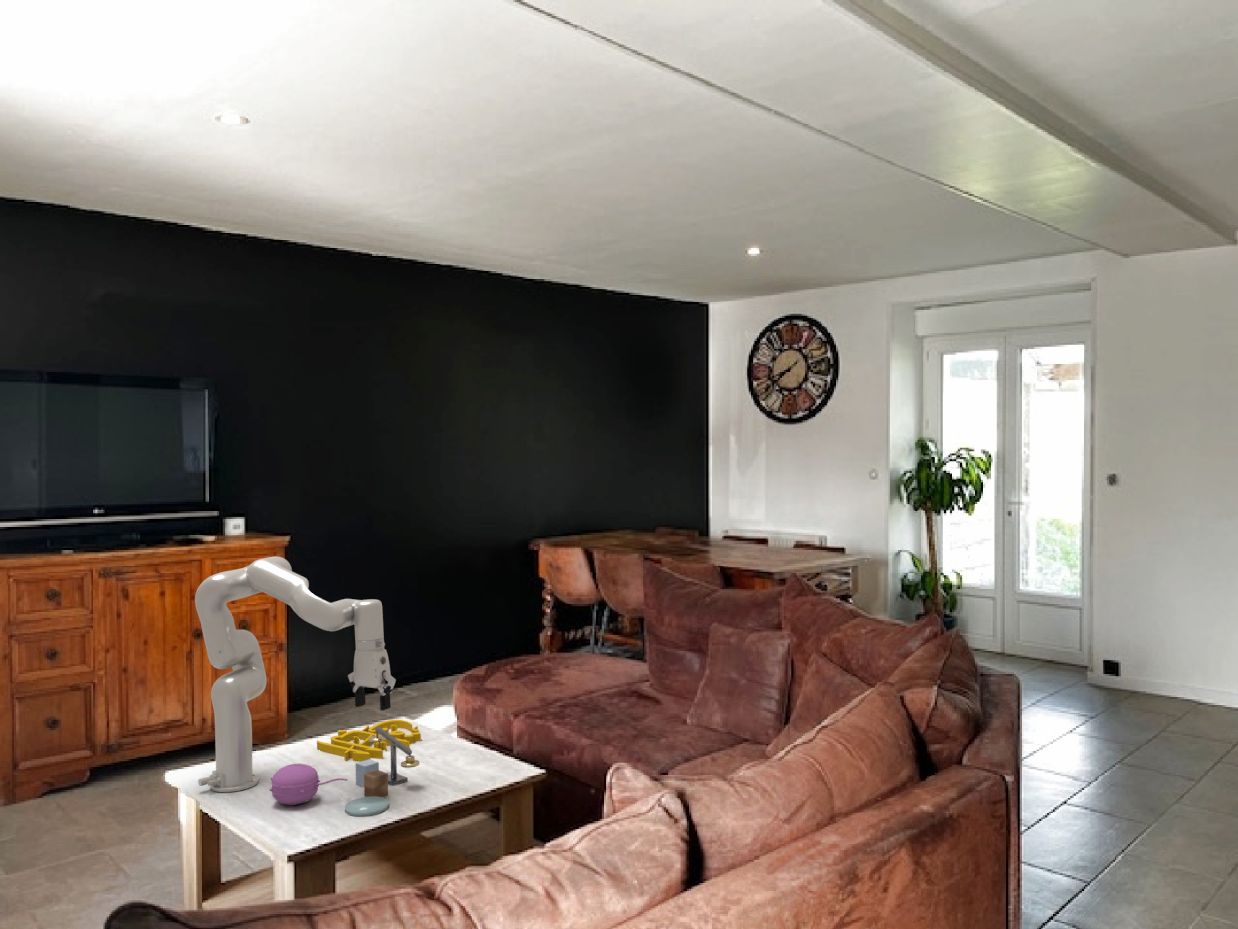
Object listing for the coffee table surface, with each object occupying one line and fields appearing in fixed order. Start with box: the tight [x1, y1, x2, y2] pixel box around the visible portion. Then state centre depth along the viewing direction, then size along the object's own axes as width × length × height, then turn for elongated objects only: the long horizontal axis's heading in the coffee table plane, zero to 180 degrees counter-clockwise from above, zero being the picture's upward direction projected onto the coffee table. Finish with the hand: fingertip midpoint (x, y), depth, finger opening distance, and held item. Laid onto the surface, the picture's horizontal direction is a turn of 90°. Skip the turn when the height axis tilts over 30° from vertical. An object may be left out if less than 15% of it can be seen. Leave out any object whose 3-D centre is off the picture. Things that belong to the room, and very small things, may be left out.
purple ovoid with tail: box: [269, 763, 348, 806], centre depth 247 cm, size 12×19×10 cm, turn 77°
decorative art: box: [316, 719, 422, 762], centre depth 300 cm, size 34×3×30 cm
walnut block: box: [363, 769, 389, 798], centre depth 252 cm, size 4×4×6 cm
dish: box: [344, 796, 390, 817], centre depth 243 cm, size 11×11×1 cm
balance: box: [368, 726, 420, 787], centre depth 263 cm, size 5×20×14 cm, turn 49°
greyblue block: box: [355, 759, 380, 788], centre depth 262 cm, size 4×4×6 cm
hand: (372, 707), depth 256 cm, fingers open, 9 cm apart
